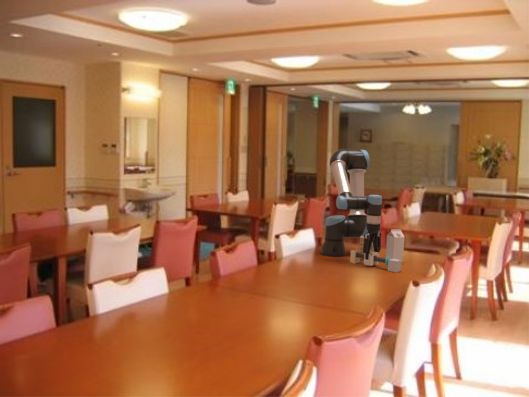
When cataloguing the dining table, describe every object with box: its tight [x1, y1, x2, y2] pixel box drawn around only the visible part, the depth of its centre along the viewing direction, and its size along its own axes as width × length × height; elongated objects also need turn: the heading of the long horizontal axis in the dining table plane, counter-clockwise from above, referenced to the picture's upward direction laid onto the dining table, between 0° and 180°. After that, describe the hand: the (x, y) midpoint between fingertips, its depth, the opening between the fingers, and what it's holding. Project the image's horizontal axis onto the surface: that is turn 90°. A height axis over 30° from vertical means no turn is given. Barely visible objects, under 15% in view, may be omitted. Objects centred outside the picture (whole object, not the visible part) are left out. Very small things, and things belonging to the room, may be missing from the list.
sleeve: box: [363, 251, 380, 267], centre depth 313 cm, size 5×6×7 cm
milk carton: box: [385, 228, 405, 263], centre depth 328 cm, size 7×7×19 cm
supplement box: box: [358, 236, 374, 260], centre depth 332 cm, size 8×5×13 cm, turn 73°
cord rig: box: [349, 249, 402, 273], centre depth 312 cm, size 30×5×7 cm, turn 46°
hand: (370, 264), depth 314 cm, fingers closed on sleeve, 6 cm apart
